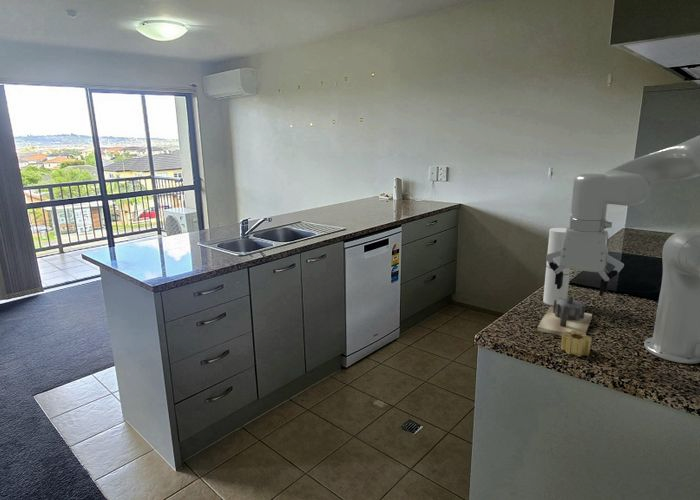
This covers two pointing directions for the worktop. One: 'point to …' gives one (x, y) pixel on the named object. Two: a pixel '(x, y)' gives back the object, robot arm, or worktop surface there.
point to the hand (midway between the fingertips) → (579, 290)
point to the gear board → (555, 322)
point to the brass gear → (576, 343)
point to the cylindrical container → (550, 287)
